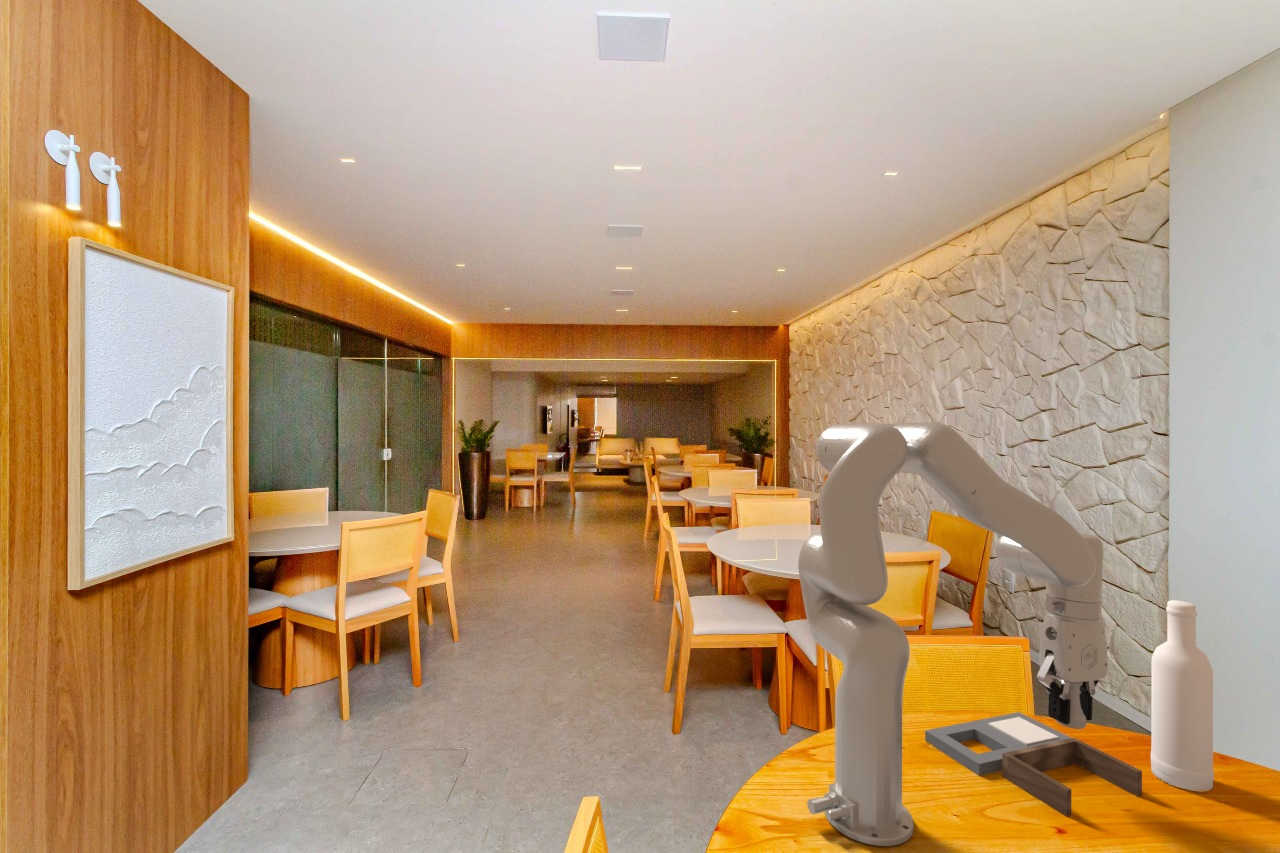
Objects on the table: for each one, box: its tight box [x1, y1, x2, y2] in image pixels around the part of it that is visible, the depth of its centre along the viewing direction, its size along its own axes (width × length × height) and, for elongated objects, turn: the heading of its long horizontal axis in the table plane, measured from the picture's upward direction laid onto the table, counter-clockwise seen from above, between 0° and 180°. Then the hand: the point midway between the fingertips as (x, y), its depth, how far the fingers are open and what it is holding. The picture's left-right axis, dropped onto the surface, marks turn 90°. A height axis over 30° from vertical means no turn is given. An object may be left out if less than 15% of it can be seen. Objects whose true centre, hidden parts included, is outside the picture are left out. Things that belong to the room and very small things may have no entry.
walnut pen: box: [1001, 737, 1143, 817], centre depth 99 cm, size 17×11×4 cm, turn 109°
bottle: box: [1150, 599, 1215, 792], centre depth 101 cm, size 8×8×30 cm
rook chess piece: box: [1055, 682, 1087, 730], centre depth 99 cm, size 4×4×8 cm
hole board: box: [924, 711, 1072, 776], centre depth 112 cm, size 24×12×2 cm, turn 109°
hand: (1070, 717), depth 99 cm, fingers closed on rook chess piece, 4 cm apart
